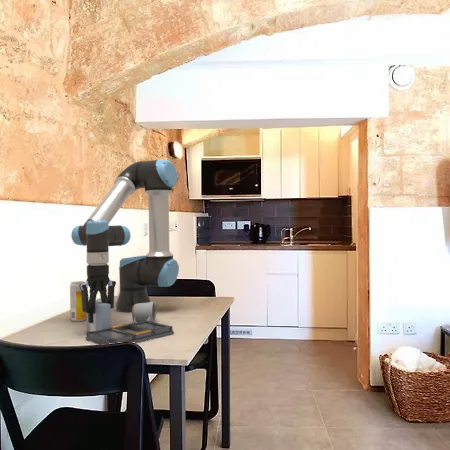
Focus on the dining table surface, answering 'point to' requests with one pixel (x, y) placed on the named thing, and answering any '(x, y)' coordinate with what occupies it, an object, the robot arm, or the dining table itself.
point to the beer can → (76, 302)
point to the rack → (130, 333)
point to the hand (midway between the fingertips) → (98, 330)
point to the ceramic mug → (144, 312)
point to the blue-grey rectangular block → (101, 316)
